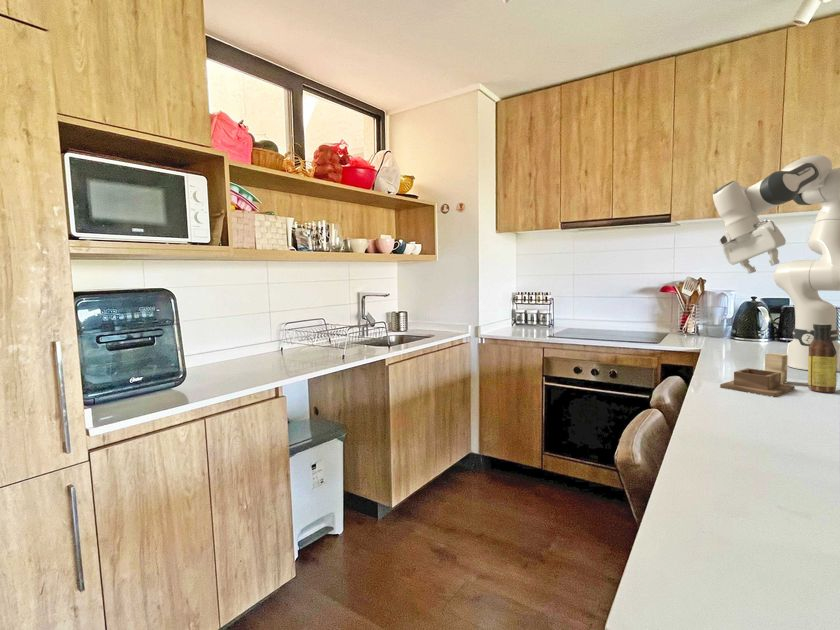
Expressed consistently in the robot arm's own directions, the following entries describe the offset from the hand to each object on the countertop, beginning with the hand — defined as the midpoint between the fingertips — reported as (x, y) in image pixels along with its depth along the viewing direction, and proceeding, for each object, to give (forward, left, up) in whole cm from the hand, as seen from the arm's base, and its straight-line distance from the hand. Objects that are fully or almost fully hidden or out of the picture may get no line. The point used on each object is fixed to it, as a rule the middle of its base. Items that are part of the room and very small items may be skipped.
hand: (763, 268), depth 142 cm
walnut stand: (+11, +4, -36) cm, 38 cm away
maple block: (-2, +4, -36) cm, 37 cm away
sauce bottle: (0, +16, -37) cm, 40 cm away
